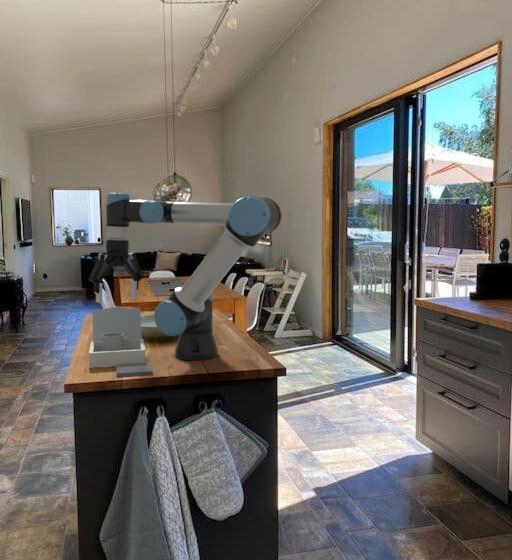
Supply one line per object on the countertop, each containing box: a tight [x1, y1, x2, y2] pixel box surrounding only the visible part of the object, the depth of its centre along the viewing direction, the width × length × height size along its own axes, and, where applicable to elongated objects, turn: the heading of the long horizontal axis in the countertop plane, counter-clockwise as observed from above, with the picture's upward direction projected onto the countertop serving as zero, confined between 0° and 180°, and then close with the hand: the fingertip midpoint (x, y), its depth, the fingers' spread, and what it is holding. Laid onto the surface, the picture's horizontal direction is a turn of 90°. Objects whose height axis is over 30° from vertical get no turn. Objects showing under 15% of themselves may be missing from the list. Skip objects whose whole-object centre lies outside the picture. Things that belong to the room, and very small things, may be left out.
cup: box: [102, 333, 132, 352], centre depth 193 cm, size 7×10×9 cm
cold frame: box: [88, 307, 147, 369], centre depth 196 cm, size 23×18×16 cm
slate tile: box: [115, 362, 154, 378], centre depth 180 cm, size 11×11×1 cm
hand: (116, 300), depth 193 cm, fingers open, 13 cm apart
